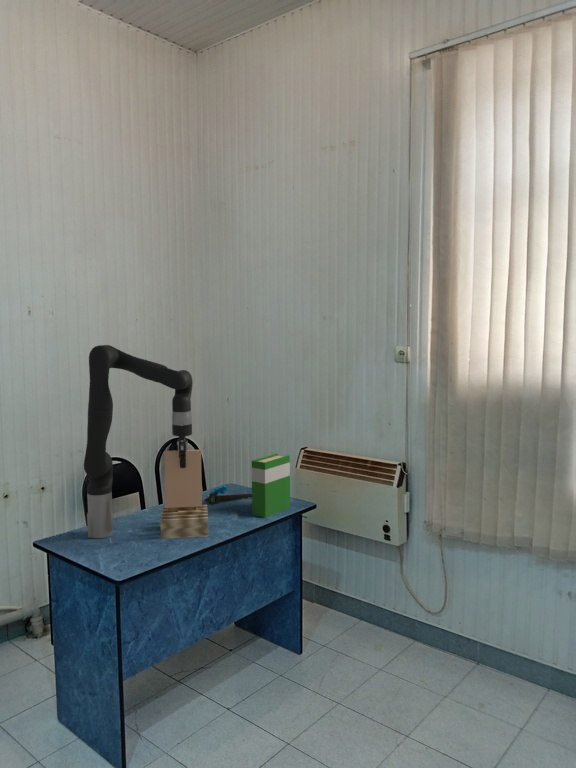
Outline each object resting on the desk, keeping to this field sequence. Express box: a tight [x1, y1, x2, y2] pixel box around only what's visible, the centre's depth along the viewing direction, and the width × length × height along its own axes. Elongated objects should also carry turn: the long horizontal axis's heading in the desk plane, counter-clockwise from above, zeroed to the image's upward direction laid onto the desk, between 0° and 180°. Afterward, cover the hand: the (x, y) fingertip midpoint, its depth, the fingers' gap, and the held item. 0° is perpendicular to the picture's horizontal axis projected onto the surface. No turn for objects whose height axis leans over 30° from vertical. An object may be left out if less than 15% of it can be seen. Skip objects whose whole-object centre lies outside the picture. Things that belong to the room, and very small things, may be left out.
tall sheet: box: [163, 449, 203, 508], centre depth 246 cm, size 14×2×22 cm, turn 98°
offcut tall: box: [168, 507, 196, 513], centre depth 256 cm, size 11×2×10 cm, turn 98°
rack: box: [159, 504, 209, 540], centre depth 255 cm, size 18×19×8 cm
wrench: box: [204, 493, 252, 506], centre depth 298 cm, size 5×5×30 cm
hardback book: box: [251, 453, 291, 519], centre depth 281 cm, size 18×7×24 cm, turn 143°
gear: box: [206, 484, 228, 502], centre depth 299 cm, size 11×6×10 cm
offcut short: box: [178, 510, 201, 515], centre depth 253 cm, size 9×2×8 cm, turn 98°
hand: (183, 467), depth 246 cm, fingers closed on tall sheet, 1 cm apart
